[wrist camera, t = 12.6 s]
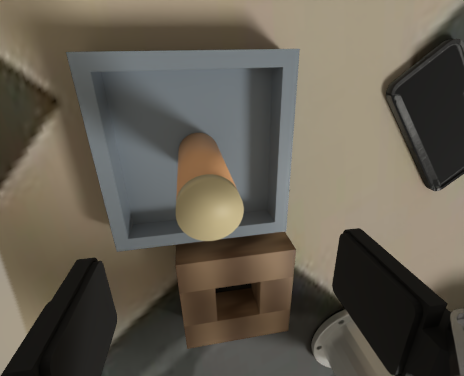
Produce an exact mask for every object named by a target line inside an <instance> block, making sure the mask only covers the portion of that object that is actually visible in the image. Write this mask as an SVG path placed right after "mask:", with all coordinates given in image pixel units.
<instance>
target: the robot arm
mask: <svg viewBox="0 0 464 376" xmlns="http://www.w3.org/2000/svg"><path fill="white" fill-rule="evenodd" d="M332 287H333V291H334V293H335V295H336V296H337V298H338V299H339V301H340V302H341V304H342V305H343V307H344V308H345V310H343V311H340V312H338V313H336V314H335V315H333V316H331V317H330V318H329V319H327V320H326V321H325V322H324V323H323V324H322V325H321V326H320V327H319V328H318V330H317V331H316V333H315V335H314V337H313V339H312V343H311V349H312V352H313V354H314V357H315V358H316V360H317V361H318V362H319V363H320V364H322V365H324V366H326V367H330V368H332V370H333V372H334V374H335V376H464V309H456V310H454V311H453V312H450V311H448V310H447V309H446V306H447V303H446V302H445V301H444V300H443V299H441V298H440V297H439V296H438V295H437V294H436V293H434V292H433V291H432V290H431V289H430V288H429V287H428V286H426V285H425V284H424V283H423V282H422V281H421V280H419V279H418V278H417V277H416V276H415V275H414V274H413V273H411V272H410V271H409V270H408V269H407V268H406V267H404V266H403V265H402V264H401V263H400V262H399V261H397V260H396V259H395V258H394V257H393V256H392V255H391V254H389V253H388V252H387V251H386V250H385V249H384V248H382V247H381V246H380V245H379V244H378V243H377V242H375V241H374V240H373V239H372V238H371V237H370V236H369V235H367V234H366V233H365V232H364V231H363V230H361V229H359V228H358V229H348V230H345V231H344V232H343V234H341V235H340V238H339V245H338V251H337V258H336V264H335V271H334V277H333V284H332ZM116 324H117V314H116V310H115V306H114V302H113V299H112V295H111V291H110V288H109V284H108V280H107V277H106V273H105V269H104V266H103V263H102V261H98V260H97V259H96V258H87V259H79V260H77V261H76V262H75V264H74V265H73V267H72V269H71V270H70V272H69V273H68V275H67V277H66V278H65V280H64V281H63V283H62V284H61V286H60V288H59V289H58V291H57V292H56V294H55V296H54V297H53V299H52V300H51V301H50V302H49V303H48V304H47V305H46V306H45V308H44V309H43V311H42V312H41V314H40V315H39V317H38V318H37V320H36V322H35V323H34V325H33V326H32V328H31V329H30V331H29V332H28V334H27V336H26V337H25V339H24V340H23V342H22V343H21V345H20V347H19V348H18V350H17V351H16V353H15V354H14V356H13V357H12V359H11V361H10V362H9V364H8V365H7V367H6V368H5V370H4V371H3V373H2V375H1V376H101V374H102V371H103V367H104V364H105V361H106V357H107V354H108V351H109V347H110V344H111V341H112V338H113V334H114V331H115V328H116Z"/></svg>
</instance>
